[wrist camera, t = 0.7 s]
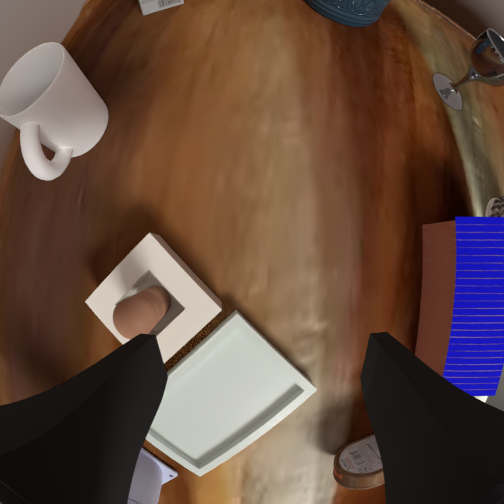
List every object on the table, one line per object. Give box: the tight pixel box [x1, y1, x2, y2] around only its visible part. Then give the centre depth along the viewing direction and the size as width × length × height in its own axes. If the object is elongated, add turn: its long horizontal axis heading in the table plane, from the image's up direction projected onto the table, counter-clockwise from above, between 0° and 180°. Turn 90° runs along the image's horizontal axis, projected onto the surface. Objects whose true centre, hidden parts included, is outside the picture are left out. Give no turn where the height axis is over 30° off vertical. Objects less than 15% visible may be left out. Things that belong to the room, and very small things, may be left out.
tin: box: [333, 434, 384, 490], centre depth 26 cm, size 15×3×8 cm, turn 100°
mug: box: [0, 42, 108, 180], centre depth 20 cm, size 8×12×12 cm
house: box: [415, 217, 504, 396], centre depth 25 cm, size 12×20×12 cm, turn 0°
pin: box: [113, 286, 171, 340], centre depth 22 cm, size 3×3×8 cm
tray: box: [146, 310, 317, 476], centre depth 27 cm, size 18×12×2 cm, turn 133°
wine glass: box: [433, 29, 504, 110], centre depth 24 cm, size 8×8×15 cm
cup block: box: [85, 233, 222, 363], centre depth 25 cm, size 9×9×4 cm
